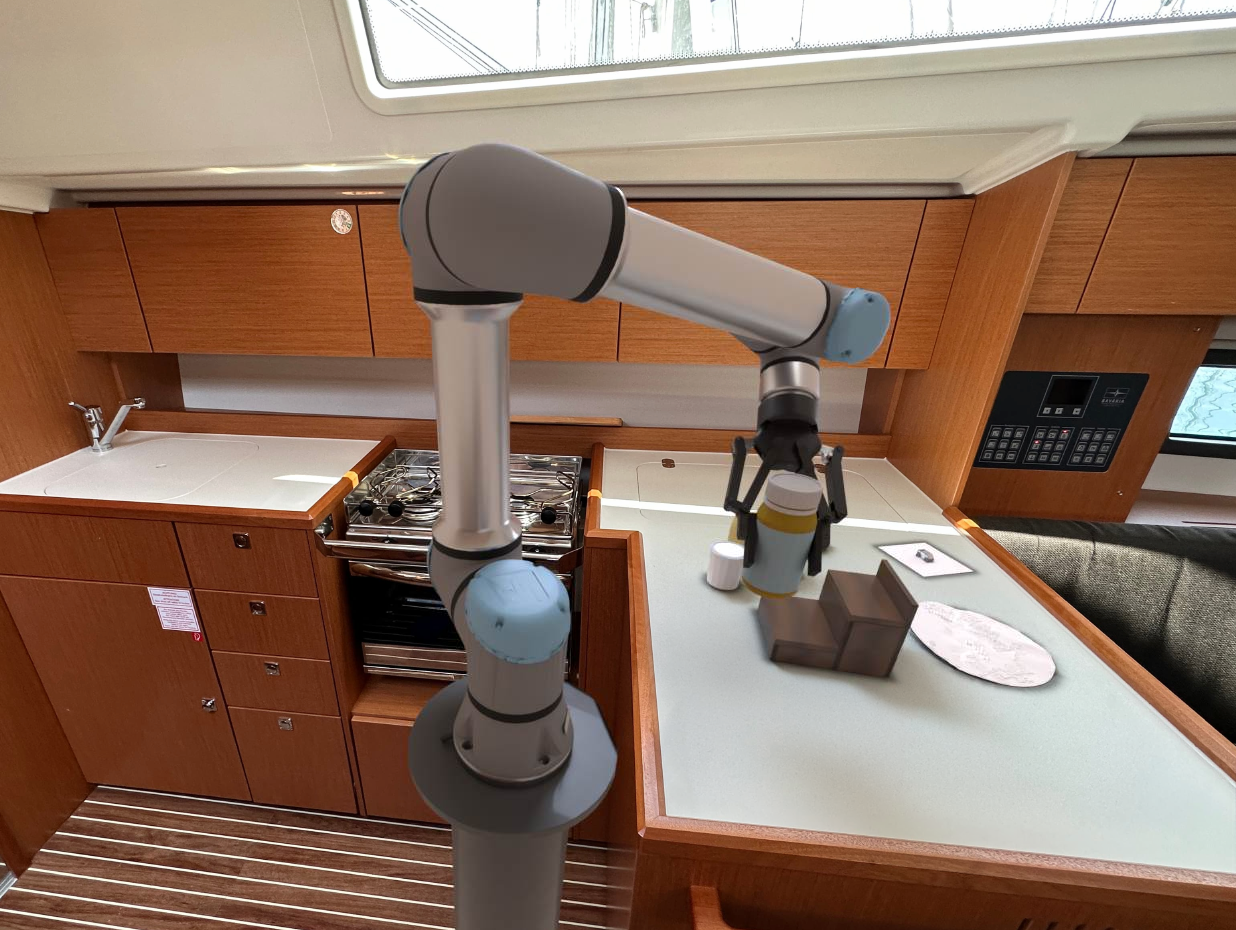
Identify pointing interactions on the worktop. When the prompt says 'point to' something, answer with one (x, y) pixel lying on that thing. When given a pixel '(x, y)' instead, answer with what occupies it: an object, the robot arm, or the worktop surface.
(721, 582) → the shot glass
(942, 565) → the white paper sheet
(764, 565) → the bottle
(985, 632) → the plaque
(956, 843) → the worktop surface
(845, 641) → the step rack
